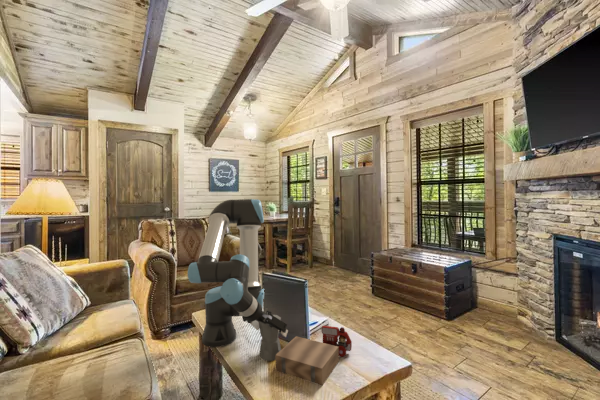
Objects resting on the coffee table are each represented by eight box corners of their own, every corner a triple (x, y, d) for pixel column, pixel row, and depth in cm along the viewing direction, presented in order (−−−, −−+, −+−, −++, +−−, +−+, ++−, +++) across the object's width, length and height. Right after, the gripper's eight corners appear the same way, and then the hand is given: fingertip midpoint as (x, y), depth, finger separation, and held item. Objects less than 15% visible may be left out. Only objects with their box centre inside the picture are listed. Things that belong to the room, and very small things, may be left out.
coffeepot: (284, 362, 116) (283, 317, 115) (260, 365, 114) (259, 319, 113) (278, 342, 131) (278, 302, 130) (257, 345, 129) (256, 304, 128)
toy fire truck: (350, 358, 118) (350, 332, 117) (320, 354, 121) (319, 329, 121) (352, 349, 124) (352, 325, 124) (323, 345, 128) (323, 322, 127)
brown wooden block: (275, 370, 110) (275, 355, 110) (296, 350, 124) (296, 336, 124) (322, 385, 101) (321, 368, 101) (338, 361, 116) (338, 346, 115)
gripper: (219, 311, 113) (244, 333, 127) (273, 324, 102) (295, 346, 115) (228, 293, 118) (252, 316, 132) (281, 303, 106) (301, 327, 120)
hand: (272, 330), depth 123 cm, fingers open, 13 cm apart
